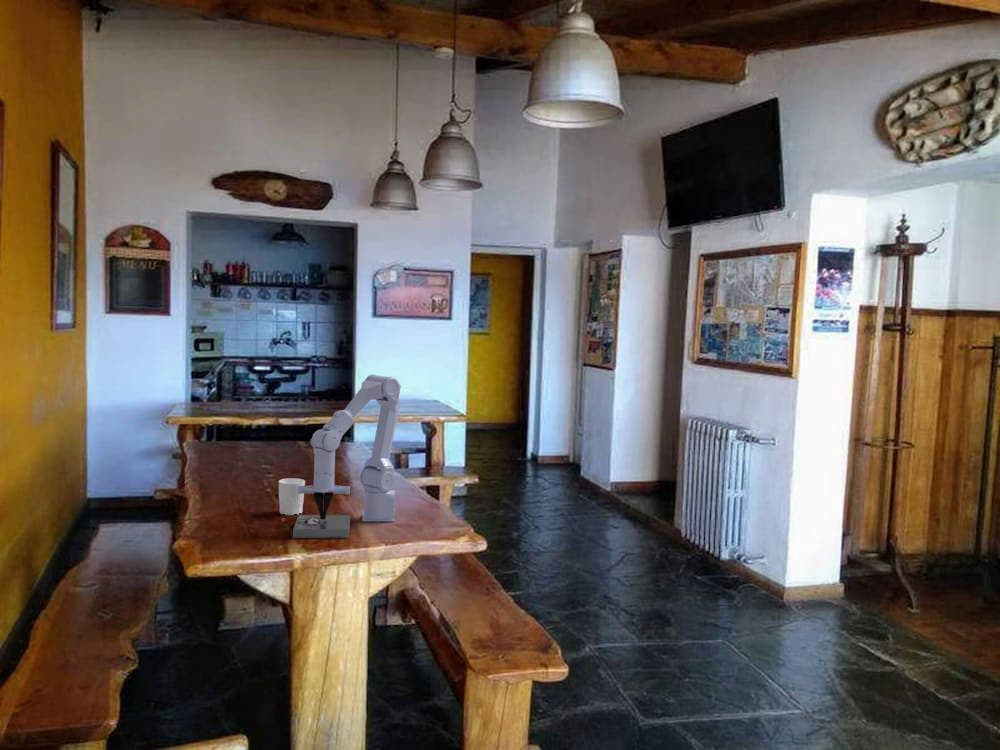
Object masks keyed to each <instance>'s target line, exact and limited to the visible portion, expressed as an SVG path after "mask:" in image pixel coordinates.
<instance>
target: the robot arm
mask: <svg viewBox="0 0 1000 750" xmlns="http://www.w3.org/2000/svg"><path fill="white" fill-rule="evenodd" d="M401 388H402V385H401V384H400V382H399V380H398V379H397V378H395V377H394V376H385V375H376V374H370V375H367V377H366V378H365V380H363V381H362V382H361V387H360V388H359V390H358V391H357V393H355V395H354V396H353V398H352V399H351V401H350V402H349V403H348V404H347V406H346V407H345V408H344V409H342V410H341V409H340V410H337V411H334V413H333V414H332V417H331V418H330V419H329V420H328V422H327V423H325V424H324V425H323V427H322V428H321V429H318V430H316V431H315V432H314V433H313V434H312V437H311V438H310V440H309V441H310V445H311V446H312V448H313V453H314V458H313V460H314V465H313V468H314V469H313V484H311V485H305V486H298V488H297V494H304V495H305V494H309V495H310V494H313V499H314V502H315V504H316V506H317V509H318V512H319V515H320V519H326V515H327V513H328V512H327V511H328V509H329V506H330V503H331V502H332V499H333V498H334V495H344V494H345V495H350V493H351V491H350V490H351V486H350V485H349V486H348V485H347V486H346V485H345V486H344V485H335V475H336V474H335V469H336V468H335V467H336V450H338V448H339V446H340V444H341V440H342V439H343V436H344V435H345V434H346V433H347V431H348V430H349V429H350V428H351V426H352V425H353V424H354V417H356V415H358V413H360V412H361V410H363V408H364V407H365V406H366V405H368V403H369V402H371V401H372V400H376V402H377V404H378V405H379V406H380V411H379V416H378V421H377V426H376V430H375V436H374V441H373V446H372V452H371V456H370V458H368V459H367V460H366V461H365V462H364V466H363V468H362V470H361V471H360V475H359V481H360V482H359V483H360V484H361V485H362V487H363V489H364V499H363V500H364V503H363V506H364V507H363V513H362V517H361V519H362V522H394V521H395V515H396V508H395V499H396V498H395V497H396V493H395V491H396V490H393V489H392V488H393V486H394V483H395V475H394V474H395V473H394V472H395V467H394V465H393V464H392V462H391V460H390V457H391V451H392V445H393V440H394V435H395V430H396V425H397V422H398V421H397V420H398V416H399V415H398V414H399V410H400V392H401ZM391 489H392V490H391Z"/></svg>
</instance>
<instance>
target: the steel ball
mask: <svg viewBox="0 0 1000 750" xmlns="http://www.w3.org/2000/svg"><path fill="white" fill-rule="evenodd" d="M318 523H319V521H318V520H317V519H315V518H312V519H310V520H309V521H308V522H307V524H318Z"/></svg>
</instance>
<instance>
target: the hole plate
mask: <svg viewBox="0 0 1000 750" xmlns="http://www.w3.org/2000/svg"><path fill="white" fill-rule="evenodd" d="M312 518H315V519H317V520H318V521H319V523H318V524H307V522H308V521H309V520H310V519H312ZM350 527H351V515H350V514H340V515H339V514H334V515H333V514H326V519H320V514H298V516H297V519H296V522H295V523H294V526H293V529H292V539H349V535H350V530H351V529H350ZM330 537H331V538H330ZM333 537H334V538H333ZM338 537H339V538H338Z"/></svg>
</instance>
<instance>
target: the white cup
mask: <svg viewBox="0 0 1000 750" xmlns="http://www.w3.org/2000/svg"><path fill="white" fill-rule="evenodd" d="M298 486H306V480H305V479H302V478H297V477H296V478H295V477H291V478H288V477H287V478H283V479H280V480H278V499H279V500H278V502H279V503H278V504H279V513H280V515H283V514H285V515H284V516H295V515H294V514H297V515H300V514H299V513H301V514H302V513H303V506H304V498H305V494H297V488H298Z"/></svg>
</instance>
